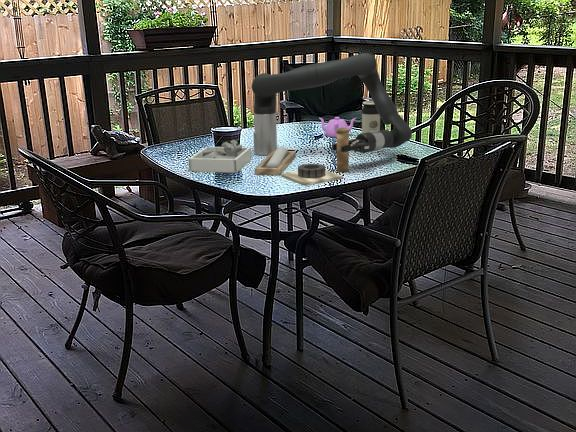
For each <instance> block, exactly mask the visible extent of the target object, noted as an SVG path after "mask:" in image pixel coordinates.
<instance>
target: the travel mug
mask: <svg viewBox="0 0 576 432" xmlns="http://www.w3.org/2000/svg"><path fill="white" fill-rule="evenodd" d="M362 104H363V105H362V106H363V107H362V109H361V133H367V132H372V131H381V117H380V115H379V113H378V111H377V109H376V107H375V104H374V102H373V100H372V101H371V100H367V101H363V102H362Z"/></svg>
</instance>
